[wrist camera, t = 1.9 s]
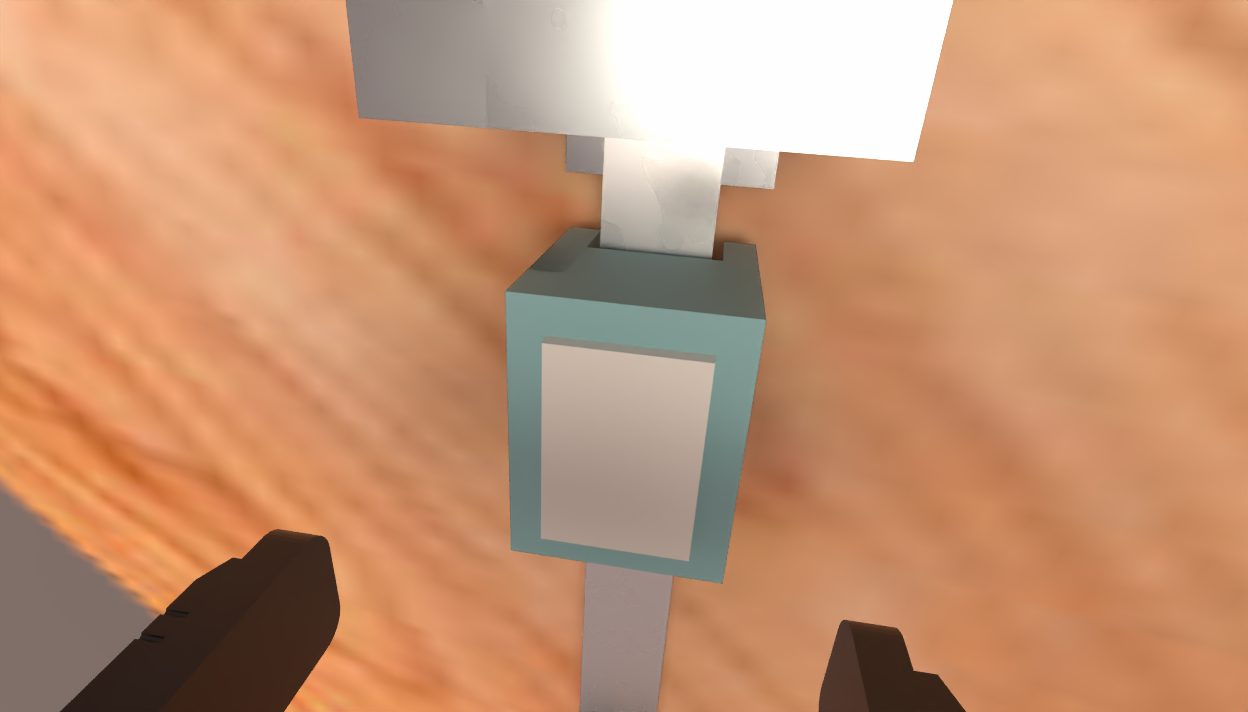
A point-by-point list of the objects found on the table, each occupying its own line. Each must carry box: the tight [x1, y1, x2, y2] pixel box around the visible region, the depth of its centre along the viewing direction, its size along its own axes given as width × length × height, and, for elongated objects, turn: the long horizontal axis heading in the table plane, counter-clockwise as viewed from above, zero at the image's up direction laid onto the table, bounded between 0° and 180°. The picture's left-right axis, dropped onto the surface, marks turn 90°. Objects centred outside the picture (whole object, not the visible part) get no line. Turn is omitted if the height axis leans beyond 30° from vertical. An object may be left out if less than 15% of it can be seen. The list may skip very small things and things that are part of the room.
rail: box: [566, 134, 779, 712], centre depth 23 cm, size 6×30×3 cm, turn 176°
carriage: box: [505, 227, 766, 584], centre depth 17 cm, size 5×7×6 cm
